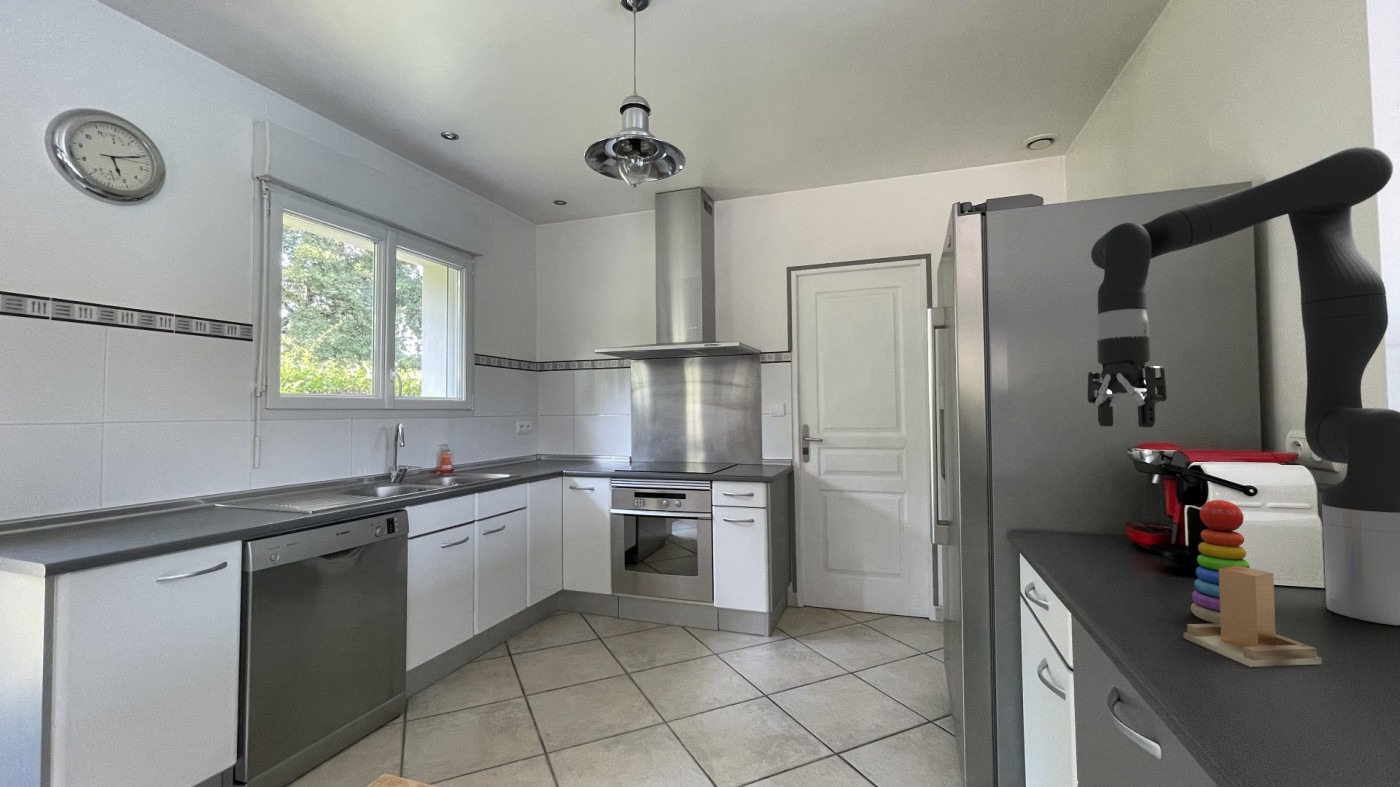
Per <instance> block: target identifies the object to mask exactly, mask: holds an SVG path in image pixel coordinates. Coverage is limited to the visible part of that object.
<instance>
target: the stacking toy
mask: <svg viewBox="0 0 1400 787" xmlns="http://www.w3.org/2000/svg"><path fill="white" fill-rule="evenodd" d="M1199 517H1200V520H1201V521H1202V523H1203V524H1204V525H1205V526H1206V527H1207V529H1204V530H1202V531H1201V532H1200V537H1201V539H1202V540H1203V541H1202V542H1200V543H1199V544H1198V545H1197V547H1198V548H1197V549H1198V551H1199V553H1200V554H1199V555H1198V556H1197V559H1196V560H1197V563H1198V565H1199V566H1198V567H1197V568H1196V569H1195V574H1196V576H1197V577H1198V578H1197V579H1195V580H1194V588H1196V590H1194V591H1193V592H1192V593H1191V598H1192V600H1193V603H1191V606H1190V610H1191V612H1192V614H1193V615H1194V616H1196V617H1197V618H1199V619H1201V620H1203V621H1206V622H1208V623H1211V624H1215V623H1221V617H1220V589H1219V568H1224V567H1230V566H1241V567H1246V568H1250V567H1251V566H1250V563H1249V562H1248V561H1247V560H1246V559H1244V558H1246V556H1247V552H1246V549H1245V548H1244V547H1243V546H1241V545H1242V544H1244V542H1245V537H1244V535H1243V534H1242V533H1240V532H1238V531H1236V530H1238V529H1239V528H1240V527H1242V526H1243V523H1244V513H1243V511H1242V510H1241V509H1240V507H1238V506H1237V505H1236V504H1235V503H1232V502H1231V501H1227V500H1225V499H1215V500H1209V501H1208V502H1207V501H1206V503H1204V504H1203V505H1202V506H1201V507H1200V510H1199ZM1250 569H1251V568H1250Z"/></svg>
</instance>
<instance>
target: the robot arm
mask: <svg viewBox="0 0 1400 787" xmlns="http://www.w3.org/2000/svg"><path fill="white" fill-rule="evenodd" d="M1393 164H1394V163H1393V162H1392V160H1391V158H1390V157H1389V155H1387V154H1386V153H1385V152H1384V151H1382V150H1380V149H1377V148H1375V147H1369V146H1353V147H1346V148H1343V149H1339V150H1337V151H1334V152H1332V153H1330V154H1328V155H1326V156H1324V157H1321V158H1320V159H1317V161H1315V162H1313V163H1310V164H1308V165H1306V166H1304V167H1302V168H1299V169H1297V170H1295V171H1292V172H1289V173H1287V174H1284V175H1282V176H1279V177H1276V178H1274V179H1271V180H1268V181H1265V182H1262V183H1259V184H1257V185H1253V186H1251V187H1247V188H1243V189H1241V190H1238V191H1234V192H1231V193H1227V194H1225V195H1221V196H1218V197H1214V198H1211V199H1208V200H1204V201H1201V202H1198V203H1194V204H1191V205H1188V206H1185V207H1182V208H1178V209H1175V210H1172V211H1169V212H1166V213H1165V214H1162V215H1160V216H1158V217H1156V218H1155V219H1153V220H1151V221H1148V222H1146V223H1142V224H1139V223H1136V222H1126V223H1121V224H1118V225H1116V226H1114V227H1113V228H1111V229H1110V230H1108V231H1107V232H1106V233H1105V234H1104V235H1102V236H1101V237H1100V238H1099V239H1097V241H1096V242H1094V244H1093V246H1092V248H1091V252H1090V256H1091V261H1092V262H1093V264H1094V265H1095V266H1096V267H1098V268H1099V269H1102V270H1103V271H1104V273H1103V279H1102V282H1101V284H1100V286H1099V287H1098V291H1097V314H1098V315H1097V323H1096V343H1097V344H1096V345H1097V346H1096V348H1097V351H1096V353H1097V363H1098V364H1099V365H1102V371H1089V372H1088V374H1087V402H1088V403H1089V404H1094V405H1095V406H1096V407H1097V417H1098V418H1097V421H1098V424H1099V426H1100V427H1113V426H1114V407H1113V406H1112V405H1113V403H1114V401H1115V400H1116V398H1119V396H1120V395H1121V394H1127V393H1128V395H1129V396H1131V397H1133V398H1134V399H1135V401H1136V402H1137V404H1138V405H1137V423H1138V427H1139V428H1153V427H1154V425H1155V422H1156V412H1155V411H1156V409H1155V408H1156V406H1157V404H1158V403H1160V402H1165V401H1166V400H1167V398H1168V397H1167V395H1168V394H1167V386H1166V385H1167V384H1166V374H1165V367H1164V366H1162V365H1157V366H1155V365H1150V366H1149V365H1146V363H1148V362H1149V361H1150V360H1151V351H1150V349H1151V345H1150V322H1149V317H1148V312H1147V310H1148V309H1147V308H1148V307H1147V289H1146V284H1147V279H1148V275H1149V271H1150V264H1151V260H1152V259H1154V258H1157V257H1159V256H1162V255H1166V254H1168V253H1172V252H1177V251H1180V250H1185V249H1188V248H1191V247H1192V248H1193V247H1195V246H1198V245H1202V244H1205V243H1208V242H1212V241H1215V240H1217V239H1221V238H1224V237H1226V236H1229V235H1233V234H1235V233H1237V232H1240V231H1243V230H1246V229H1248V228H1251V227H1253V226H1256V225H1259V224H1261V223H1262V224H1263V223H1264V222H1267V221H1270V220H1272V219H1275V218H1279V217H1282V216H1285V215H1287V216H1288V220H1289V224H1290V228H1291V230H1292V235H1293V239H1294V243H1295V249H1296V258H1297V259H1296V260H1297V270H1298V279H1299V287H1300V288H1299V289H1300V308H1301V310H1300V312H1301V319H1302V320H1301V322H1302V329H1303V334H1304V344H1305V346H1304V347H1305V365H1306V379H1307V380H1306V396H1305V397H1306V398H1305V414H1304V415H1305V416H1304V434H1305V440H1306V443H1307V444H1308V447H1309V449H1310V451H1312V453H1313V454H1315V456H1317V458H1320V459H1321V460H1324V461H1326V462H1330V463H1336V464H1345V465H1347V466H1346V475H1345V477H1344V479H1343V480H1341V481H1339V482H1338V483H1336V484H1335V483H1334V484H1330V485H1327V486H1325V487H1324V488H1322V491H1321V503H1322V504H1321V510H1322V511H1321V512H1322V513H1321V514H1322V530H1323V553H1324V554H1323V556H1324V558H1323V559H1324V576H1325V577H1324V579H1325V599H1326V601H1325V604H1326V609H1327V610H1329V611H1331V612H1333V613H1335V614H1338V615H1342V616H1345V617H1349V618H1351V619H1357V620H1361V621H1365V622H1371V623H1377V624H1382V625H1383V624H1384V625H1389V626H1390V625H1391V626H1400V411H1398V410H1394V409H1389V408H1377V407H1374V408H1373V407H1372V408H1371V407H1370V408H1369V407H1367V408H1366V407H1363V402H1362V400H1363V399H1362V379H1363V375H1364V372H1365V370H1366V368H1367V366H1368V364H1369V362H1370V361H1371V359H1372V358H1373V355H1375V352H1376V351H1377V349H1378V348H1379V346H1380V344H1381V342H1382V340H1383V339H1384V336H1385V334H1386V332H1387V329H1388V325H1389V314H1388V303H1387V302H1388V301H1387V293H1386V287H1385V283H1384V281H1383V279H1382V277H1381V276H1380V274H1379V272H1378V271H1377V270H1376V268H1374V266H1373V264H1371V263H1370V261H1369V260H1368V259H1367V258H1366V257H1365V256H1364V254H1362V252H1361V251H1360V250H1359V247H1358V246H1357V244H1356V242H1355V239H1354V235H1353V224H1352V209H1353V206H1356V205H1359V204H1361V203H1363V202H1365V201H1367V200H1369V199H1370V198H1372V197H1373V196H1375V195H1377V194H1378V193H1379V192H1381V190H1383V189H1384V188H1385V187H1386V186H1387V185H1388V183H1389V181H1390V179H1391V178H1392V176H1393V172H1394V166H1393ZM1096 391H1097V392H1096ZM1096 393H1097V394H1096Z"/></svg>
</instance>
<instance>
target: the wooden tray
mask: <svg viewBox="0 0 1400 787" xmlns="http://www.w3.org/2000/svg"><path fill="white" fill-rule="evenodd" d="M1186 625H1187V626H1186V628H1187V631H1186V632H1183V639H1184V640H1187V641H1189V642H1191V643H1193V644H1196V645H1198V646H1201V647H1203V648H1205V649H1207V650H1210V651H1213V652H1215V653H1217V654H1219V655H1222V656H1223V657H1226V658H1229V659H1231V660H1233V661H1235V662H1237V663H1240V664H1242V665H1245V666H1248V667H1250V668H1253V667H1255V668H1256V667H1257V668H1259V667H1281V666H1283V667H1284V666H1287V667H1288V666H1308V665H1314V666H1315V665H1322V657H1320V656H1318V652H1317V650H1318V649H1317V648H1316V647H1313V646H1310V645H1308V644H1305V643H1302V642H1299V641H1296V640H1294V639H1291V638H1288V637H1286V636H1282V635H1280V634H1277V633H1276V646H1253V647H1240V646H1237V645H1234V644H1230V643H1227V642H1224V641H1221V623H1196V624H1195V623H1188V624H1186Z"/></svg>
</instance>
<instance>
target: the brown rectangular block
mask: <svg viewBox="0 0 1400 787" xmlns="http://www.w3.org/2000/svg"><path fill="white" fill-rule="evenodd" d="M1274 581H1275V580H1274V573H1273V572H1269V571H1265V570H1259V569H1256V568H1255V569H1254V568H1246V567H1241V566H1230V567H1224V568H1219V589H1220V617H1221V641H1224V642H1227V643H1230V644H1234V645H1237V646H1240V647H1253V646H1276V634H1277V633H1276V613H1275V612H1276V611H1275V608H1276V607H1275V584H1274Z"/></svg>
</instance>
